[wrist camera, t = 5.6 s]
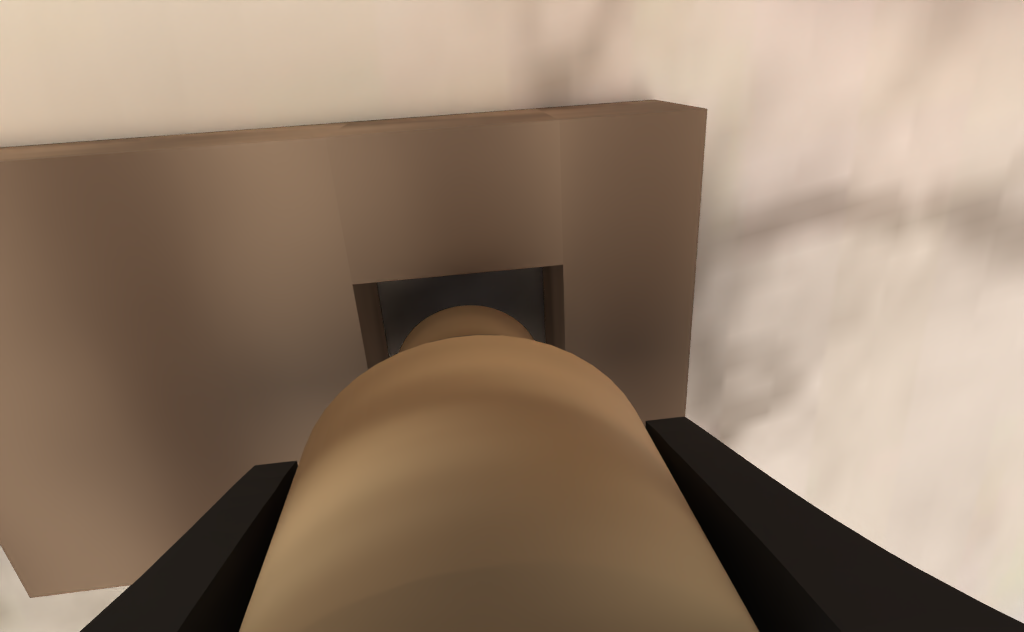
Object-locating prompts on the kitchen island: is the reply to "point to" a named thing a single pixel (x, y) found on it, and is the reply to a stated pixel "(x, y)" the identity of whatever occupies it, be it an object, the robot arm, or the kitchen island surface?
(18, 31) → the kitchen island surface
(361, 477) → the oak peg
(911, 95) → the kitchen island surface
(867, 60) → the kitchen island surface
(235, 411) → the brown flat rectangular block
